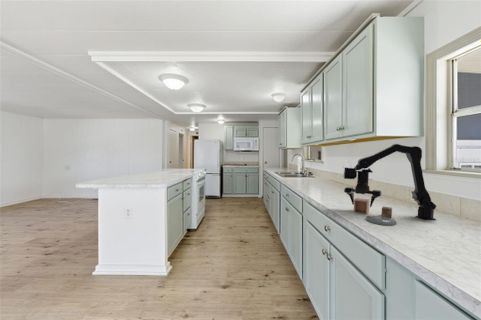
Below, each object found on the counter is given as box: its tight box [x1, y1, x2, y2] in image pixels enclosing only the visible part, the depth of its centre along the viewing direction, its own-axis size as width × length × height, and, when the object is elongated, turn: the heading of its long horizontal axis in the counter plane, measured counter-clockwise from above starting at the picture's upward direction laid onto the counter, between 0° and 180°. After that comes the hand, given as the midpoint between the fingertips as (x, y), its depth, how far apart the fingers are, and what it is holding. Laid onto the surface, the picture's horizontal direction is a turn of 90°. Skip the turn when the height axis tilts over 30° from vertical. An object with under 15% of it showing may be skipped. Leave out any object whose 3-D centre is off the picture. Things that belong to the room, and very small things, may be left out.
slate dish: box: [365, 215, 397, 227], centre depth 116 cm, size 13×13×1 cm
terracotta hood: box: [353, 197, 371, 215], centre depth 134 cm, size 7×7×8 cm
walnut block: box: [381, 206, 393, 219], centre depth 125 cm, size 4×4×5 cm
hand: (361, 206), depth 134 cm, fingers open, 9 cm apart
